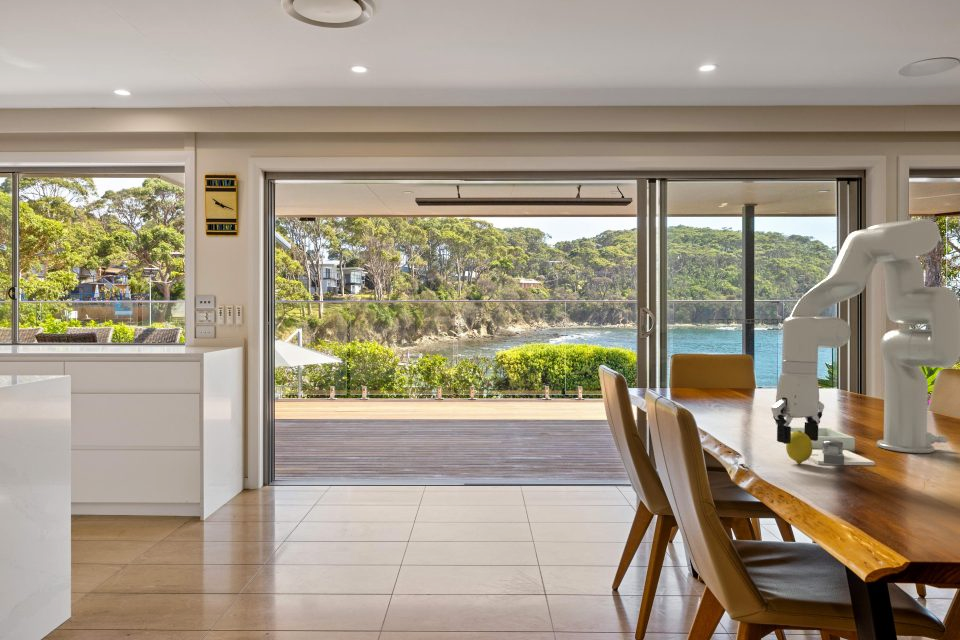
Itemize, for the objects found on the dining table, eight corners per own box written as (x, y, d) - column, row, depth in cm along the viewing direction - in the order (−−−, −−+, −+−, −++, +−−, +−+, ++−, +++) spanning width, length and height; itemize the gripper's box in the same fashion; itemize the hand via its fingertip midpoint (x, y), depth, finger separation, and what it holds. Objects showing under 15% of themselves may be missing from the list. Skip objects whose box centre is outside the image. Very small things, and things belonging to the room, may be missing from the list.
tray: (827, 440, 178) (828, 427, 178) (854, 451, 164) (854, 437, 164) (776, 439, 179) (777, 427, 179) (799, 450, 165) (799, 436, 165)
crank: (822, 450, 159) (822, 439, 159) (842, 452, 157) (842, 440, 157) (822, 465, 144) (822, 451, 144) (845, 467, 142) (845, 454, 142)
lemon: (806, 461, 153) (806, 428, 152) (816, 467, 147) (816, 432, 147) (782, 460, 153) (782, 427, 153) (791, 466, 148) (791, 432, 147)
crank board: (845, 453, 162) (845, 449, 162) (874, 465, 149) (874, 461, 149) (793, 452, 163) (793, 448, 163) (817, 464, 150) (817, 460, 150)
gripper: (808, 367, 157) (807, 436, 157) (760, 368, 149) (758, 440, 149) (837, 369, 150) (835, 441, 150) (789, 370, 142) (787, 446, 142)
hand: (797, 441), depth 150 cm, fingers open, 9 cm apart
